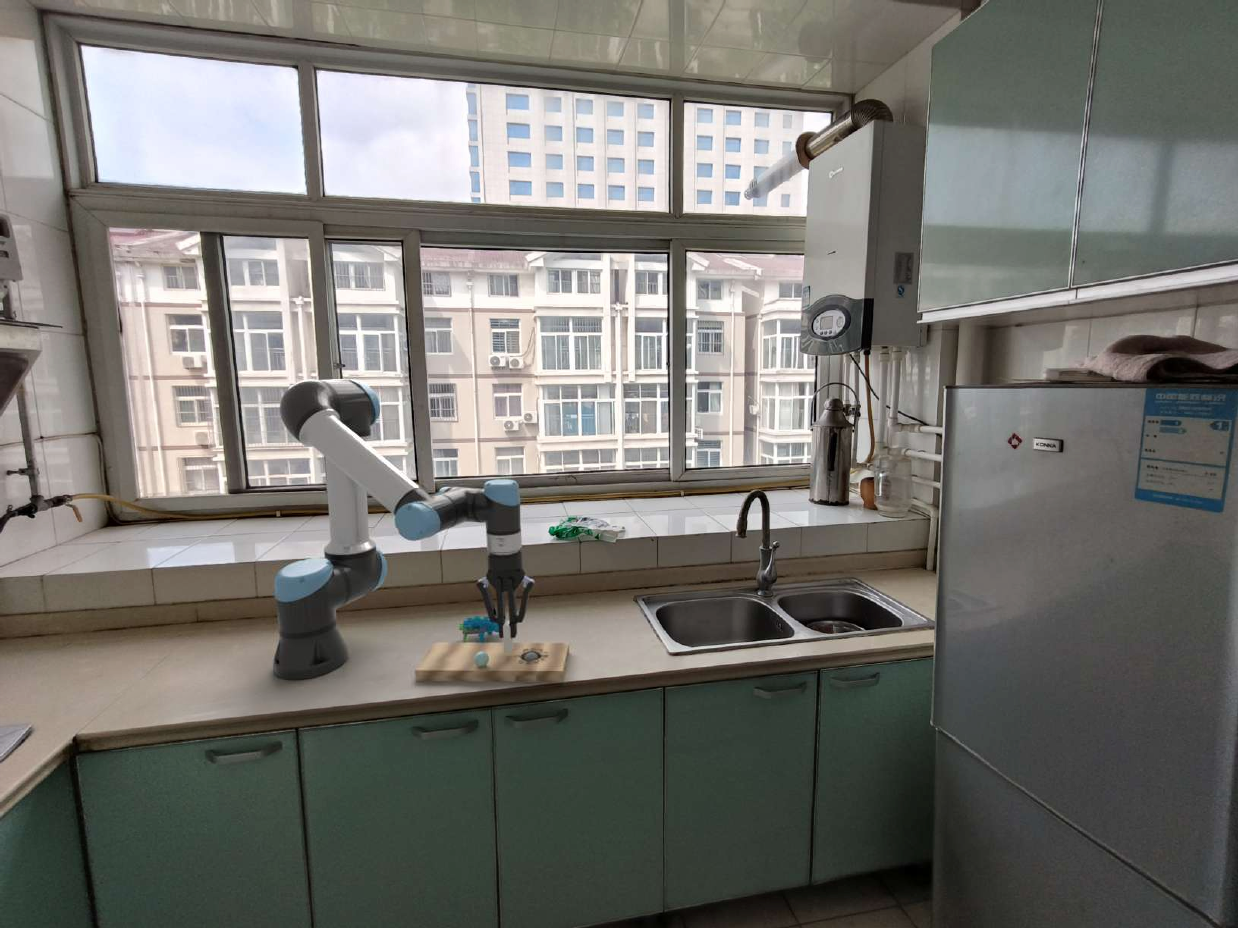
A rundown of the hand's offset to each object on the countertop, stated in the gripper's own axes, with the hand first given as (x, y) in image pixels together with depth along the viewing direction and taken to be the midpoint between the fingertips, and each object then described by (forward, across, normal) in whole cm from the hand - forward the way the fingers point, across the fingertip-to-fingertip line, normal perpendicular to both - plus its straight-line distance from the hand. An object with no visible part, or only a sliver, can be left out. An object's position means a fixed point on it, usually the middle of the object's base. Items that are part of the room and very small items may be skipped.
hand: (508, 650), depth 130 cm
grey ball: (+2, +5, 0) cm, 6 cm away
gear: (+4, -10, +14) cm, 17 cm away
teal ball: (0, -5, -4) cm, 7 cm away
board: (+4, -3, 0) cm, 5 cm away
